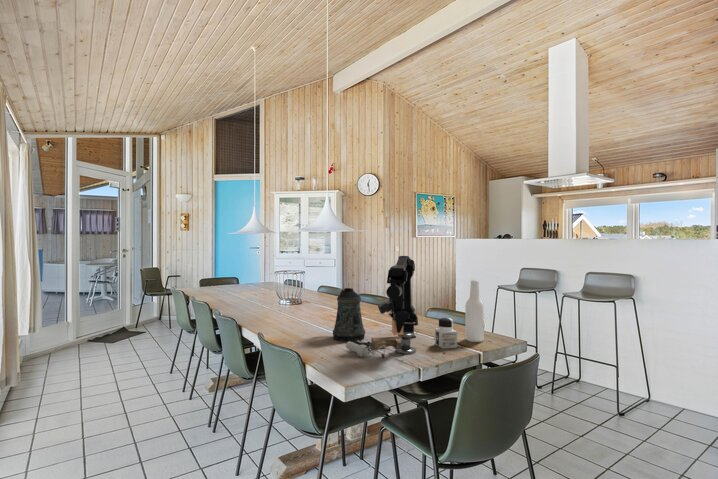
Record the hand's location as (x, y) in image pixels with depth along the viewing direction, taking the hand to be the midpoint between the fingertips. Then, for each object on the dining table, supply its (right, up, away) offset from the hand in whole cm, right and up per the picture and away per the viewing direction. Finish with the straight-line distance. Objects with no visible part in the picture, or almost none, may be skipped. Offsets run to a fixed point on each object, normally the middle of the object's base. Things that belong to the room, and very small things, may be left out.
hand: (397, 331), depth 174 cm
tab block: (0, -1, 0) cm, 1 cm away
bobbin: (+4, -10, +4) cm, 11 cm away
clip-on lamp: (-13, -10, -1) cm, 17 cm away
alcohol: (+41, -10, +24) cm, 49 cm away
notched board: (-2, -10, +15) cm, 18 cm away
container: (+24, -10, +13) cm, 29 cm away
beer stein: (-23, -10, +29) cm, 38 cm away
